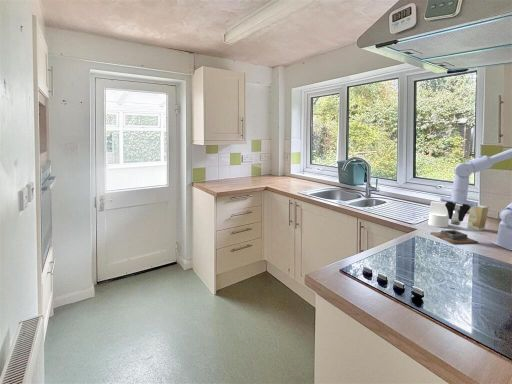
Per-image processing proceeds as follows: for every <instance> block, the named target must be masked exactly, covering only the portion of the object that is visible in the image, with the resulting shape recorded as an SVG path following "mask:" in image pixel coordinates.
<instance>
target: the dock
mask: <svg viewBox="0 0 512 384" xmlns="http://www.w3.org/2000/svg"><path fill="white" fill-rule="evenodd" d="M430 235H432V236H434V237H436V238H439V239H440V240H443V241H445V242H447V243H450V244H452V245H465V244H466V245H468V244H469V245H470V244H473V245H475V244H479V241H478V240H475V239H472V238H470V237H468V234H466V233H464V232H461V231H458V230H456V229H453V230H452V229H451V230H450V229H449V230H441V231H438V232H433V231H432V232H430Z"/></svg>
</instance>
